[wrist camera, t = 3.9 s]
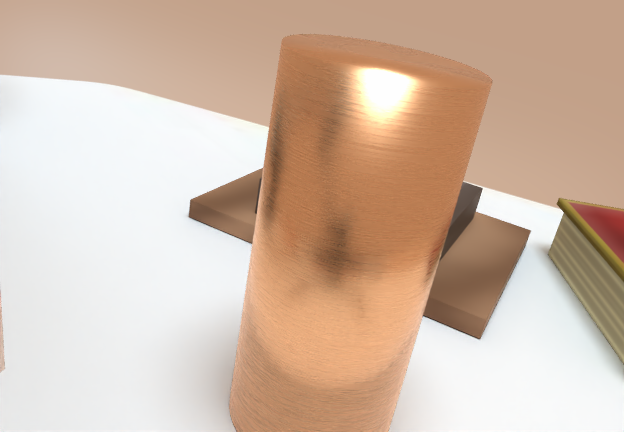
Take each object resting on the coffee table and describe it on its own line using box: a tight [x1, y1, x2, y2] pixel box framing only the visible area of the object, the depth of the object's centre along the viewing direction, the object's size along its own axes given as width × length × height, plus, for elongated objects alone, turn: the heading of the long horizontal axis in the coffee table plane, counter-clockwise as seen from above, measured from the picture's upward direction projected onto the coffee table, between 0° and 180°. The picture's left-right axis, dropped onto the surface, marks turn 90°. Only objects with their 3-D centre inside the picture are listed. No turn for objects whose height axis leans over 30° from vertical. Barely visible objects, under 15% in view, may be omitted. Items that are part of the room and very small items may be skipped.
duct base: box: [189, 168, 531, 339], centre depth 33 cm, size 16×12×3 cm
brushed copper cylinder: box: [229, 34, 492, 432], centre depth 18 cm, size 6×6×12 cm
